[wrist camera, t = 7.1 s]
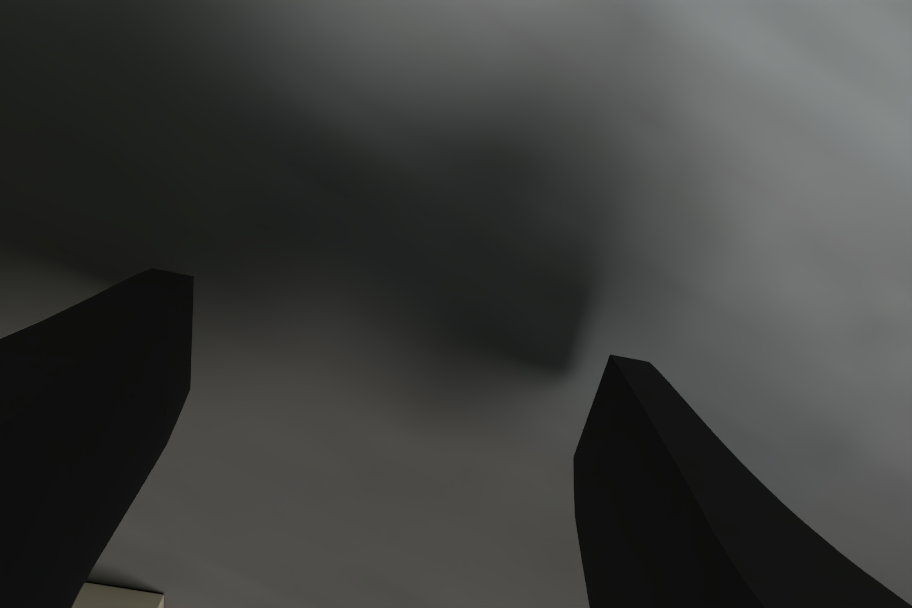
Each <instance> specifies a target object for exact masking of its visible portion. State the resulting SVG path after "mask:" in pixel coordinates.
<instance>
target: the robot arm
mask: <svg viewBox="0 0 912 608" xmlns="http://www.w3.org/2000/svg"><path fill="white" fill-rule="evenodd" d="M193 279H194V276H188V275H183V274H178V273H172V272H167V271H162V270H156V269H150V270H147V271H145V272H142V273H140V274H138V275H135V276H133V277H131V278H129V279H127V280H125V281H123V282H121V283H119V284H117V285H115V286H113V287H111V288H109V289H107V290H105V291H103V292H101V293H99V294H97V295H95V296H93V297H91V298H89V299H87V300H85V301H83V302H80V303H78V304H76V305H74V306H72V307H70V308H68V309H66V310H64V311H62V312H60V313H58V314H56V315H54V316H52V317H49V318H47V319H45V320H43V321H41V322H39V323H37V324H34V325H32V326H30V327H27V328H25V329H23V330H20V331H18V332H16V333H13V334H11V335H9V336H6V337H4V338H2V339H0V608H72V606H73V604H74V602H75V600H76V598H77V596H78V594H79V592H80V590H81V588H82V586H83V585H84V583H85V581H86V579H87V577H88V575H89V574H90V572H91V570H92V568H93V566H94V565H95V563H96V562H97V560H98V558H99V557H100V555H101V553H102V552H103V550H104V548H105V547H106V545H107V543H108V542H109V540H110V538H111V537H112V535H113V533H114V532H115V530H116V528H117V527H118V525H119V523H120V522H121V520H122V519H123V517H124V515H125V514H126V512H127V510H128V509H129V507H130V505H131V504H132V502H133V500H134V499H135V497H136V495H137V494H138V492H139V490H140V489H141V487H142V485H143V484H144V482H145V480H146V479H147V477H148V475H149V474H150V472H151V470H152V469H153V467H154V465H155V464H156V462H157V460H158V459H159V457H160V455H161V453H162V452H163V450H164V448H165V446H166V445H167V442H168V440H169V438H170V436H171V433H172V431H173V429H174V427H175V424H176V422H177V420H178V417H179V415H180V412H181V410H182V408H183V405H184V403H185V400H186V398H187V395H188V393H189V391H190V380H191V347H192V313H193ZM574 503H575V519H576V526H577V533H578V539H579V545H580V551H581V558H582V564H583V570H584V576H585V582H586V588H587V594H588V600H589V606H590V608H912V606H911V605H910V604H908V603H907V602H905V601H904V600H903V599H901V598H900V597H899V596H897V595H896V594H894V593H893V592H892V591H890V590H889V589H888V588H886V587H885V586H883V585H882V584H881V583H879V582H878V581H877V580H875V579H874V578H873V577H871V576H870V575H868V574H867V573H866V572H864V571H863V570H862V569H860V568H859V567H858V566H857V565H855V564H854V563H853V562H851V561H850V560H849V559H848V558H846V557H845V556H844V555H842V554H841V553H840V552H839V551H837V550H836V549H835V548H834V547H833V546H832V545H830V544H829V543H828V542H827V541H826V540H824V539H823V538H822V537H821V536H820V535H818V534H817V533H816V532H815V531H814V530H813V529H811V528H810V527H809V526H808V525H807V524H805V523H804V522H803V521H802V520H801V519H800V518H798V517H797V516H796V515H795V514H794V513H793V512H792V511H791V510H790V509H789V508H787V507H786V506H785V505H784V504H783V503H782V502H781V501H780V500H779V499H778V498H777V497H776V496H775V495H774V494H773V493H772V492H771V491H770V490H768V489H767V488H766V487H765V486H764V485H763V484H762V483H761V482H760V481H759V480H758V479H757V478H756V477H755V476H754V475H753V474H752V473H751V472H750V471H749V470H748V469H747V468H746V467H745V466H744V465H743V464H742V463H741V462H740V461H739V460H738V459H737V457H736V456H735V455H734V454H733V453H732V452H731V451H730V450H729V449H728V448H727V447H726V446H725V445H724V444H723V443H722V442H721V440H720V439H719V438H718V437H717V436H716V435H715V434H714V433H713V432H712V431H711V429H710V428H709V427H708V426H707V425H706V424H705V423H704V422H703V421H702V419H701V418H700V417H699V416H698V415H697V414H696V413H695V411H694V410H693V409H692V408H691V407H690V406H689V405H688V404H687V402H686V401H685V400H684V399H683V398H682V397H681V396H680V394H679V393H678V392H677V391H676V390H675V389H674V388H673V387H672V385H671V384H670V383H669V382H668V381H667V380H666V379H665V378H664V377H663V375H662V374H661V373H660V372H659V371H658V370H657V369H656V368H655V367H654V366H653V365H652V364H651V363H650V362H647V361H641V360H636V359H631V358H625V357H620V356H615V355H610V356H609V359H608V362H607V365H606V368H605V370H604V373H603V376H602V379H601V382H600V384H599V387H598V390H597V393H596V396H595V398H594V401H593V404H592V407H591V410H590V412H589V415H588V418H587V421H586V424H585V426H584V429H583V432H582V435H581V438H580V441H579V443H578V446H577V449H576V452H575V455H574Z"/></svg>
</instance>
